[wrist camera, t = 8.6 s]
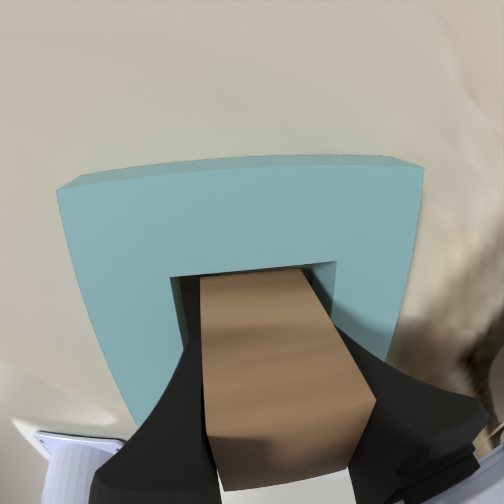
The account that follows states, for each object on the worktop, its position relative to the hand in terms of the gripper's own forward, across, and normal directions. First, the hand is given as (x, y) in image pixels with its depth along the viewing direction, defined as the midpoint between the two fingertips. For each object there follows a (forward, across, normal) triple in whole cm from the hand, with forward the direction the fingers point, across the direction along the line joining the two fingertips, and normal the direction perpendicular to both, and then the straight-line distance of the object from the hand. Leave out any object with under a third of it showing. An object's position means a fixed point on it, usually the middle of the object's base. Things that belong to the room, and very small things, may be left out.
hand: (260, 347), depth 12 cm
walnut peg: (+2, 0, 0) cm, 2 cm away
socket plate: (+3, 0, 0) cm, 3 cm away
